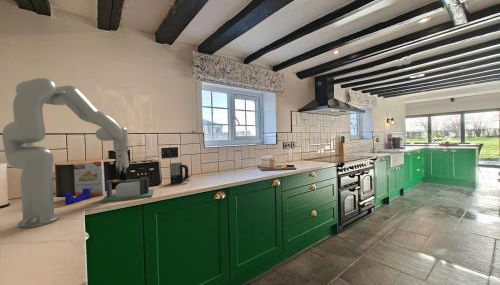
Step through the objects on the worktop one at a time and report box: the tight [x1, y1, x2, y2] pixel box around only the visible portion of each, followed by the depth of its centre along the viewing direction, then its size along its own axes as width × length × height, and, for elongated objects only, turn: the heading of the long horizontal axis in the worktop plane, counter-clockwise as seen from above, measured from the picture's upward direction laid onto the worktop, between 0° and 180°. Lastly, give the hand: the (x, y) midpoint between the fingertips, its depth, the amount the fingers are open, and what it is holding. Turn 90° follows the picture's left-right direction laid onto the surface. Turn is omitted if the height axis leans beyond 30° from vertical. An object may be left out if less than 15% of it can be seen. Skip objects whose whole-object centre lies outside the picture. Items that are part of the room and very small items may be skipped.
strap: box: [112, 178, 141, 183], centre depth 133 cm, size 16×3×1 cm, turn 110°
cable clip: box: [64, 189, 91, 206], centre depth 126 cm, size 12×4×6 cm, turn 170°
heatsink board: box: [100, 176, 154, 204], centre depth 133 cm, size 18×25×10 cm
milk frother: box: [169, 162, 191, 185], centre depth 173 cm, size 14×16×15 cm
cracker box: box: [73, 160, 106, 198], centre depth 137 cm, size 14×6×21 cm, turn 112°
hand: (123, 179), depth 132 cm, fingers closed
